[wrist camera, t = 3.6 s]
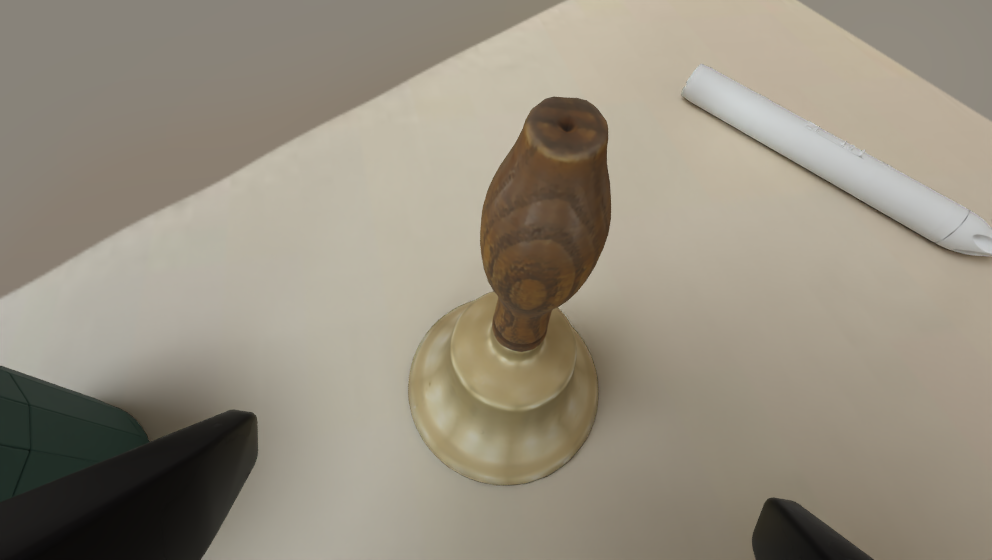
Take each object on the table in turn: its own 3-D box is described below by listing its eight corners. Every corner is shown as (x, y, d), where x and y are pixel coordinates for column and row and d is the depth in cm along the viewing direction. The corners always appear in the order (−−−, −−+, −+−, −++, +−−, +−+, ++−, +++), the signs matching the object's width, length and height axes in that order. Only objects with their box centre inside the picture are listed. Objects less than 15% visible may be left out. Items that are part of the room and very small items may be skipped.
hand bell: (635, 422, 21) (963, 204, 7) (464, 527, 19) (443, 517, 5) (535, 271, 24) (625, -90, 10) (378, 347, 22) (216, 26, 8)
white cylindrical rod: (988, 252, 26) (1034, 228, 24) (977, 278, 25) (1022, 255, 23) (693, 84, 31) (709, 52, 29) (675, 102, 30) (691, 70, 28)
